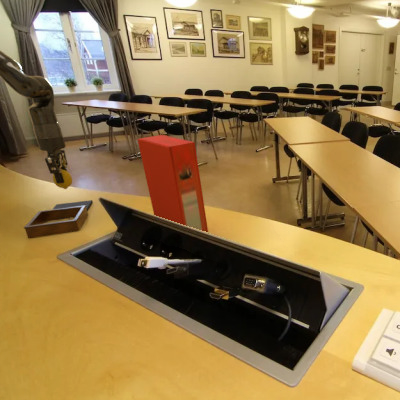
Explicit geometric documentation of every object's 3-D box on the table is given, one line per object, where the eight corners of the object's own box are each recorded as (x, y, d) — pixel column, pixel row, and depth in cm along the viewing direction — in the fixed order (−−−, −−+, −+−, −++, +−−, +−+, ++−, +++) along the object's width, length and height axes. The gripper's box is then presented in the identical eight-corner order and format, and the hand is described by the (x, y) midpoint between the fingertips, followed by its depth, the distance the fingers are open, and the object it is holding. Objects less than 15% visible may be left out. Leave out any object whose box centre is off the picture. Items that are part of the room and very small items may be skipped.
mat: (49, 216, 118) (48, 214, 118) (57, 206, 127) (56, 204, 126) (87, 211, 123) (86, 209, 122) (92, 202, 131) (92, 200, 131)
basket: (27, 238, 103) (23, 227, 102) (42, 220, 115) (39, 211, 114) (79, 230, 108) (76, 220, 107) (88, 214, 120) (85, 205, 119)
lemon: (52, 190, 120) (46, 170, 117) (66, 186, 125) (60, 166, 122) (64, 192, 119) (58, 171, 116) (78, 187, 124) (72, 167, 121)
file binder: (186, 251, 96) (168, 146, 84) (157, 234, 106) (137, 138, 94) (209, 241, 102) (195, 141, 90) (180, 226, 112) (163, 134, 100)
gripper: (42, 133, 119) (56, 176, 125) (28, 140, 107) (44, 187, 113) (67, 131, 122) (79, 174, 128) (56, 138, 109) (70, 185, 116)
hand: (63, 180), depth 120 cm, fingers closed on lemon, 5 cm apart
